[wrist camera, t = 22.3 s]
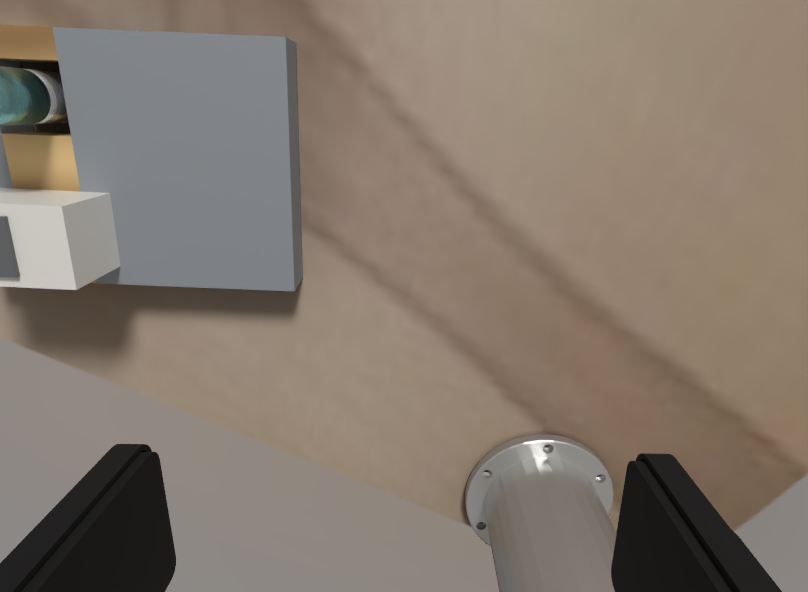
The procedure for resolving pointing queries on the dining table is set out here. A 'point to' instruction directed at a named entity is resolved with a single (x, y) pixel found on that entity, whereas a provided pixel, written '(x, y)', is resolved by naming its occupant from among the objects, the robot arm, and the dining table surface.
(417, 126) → the dining table surface
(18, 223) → the white rectangular block
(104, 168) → the subfloor panel
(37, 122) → the green silver cylinder
